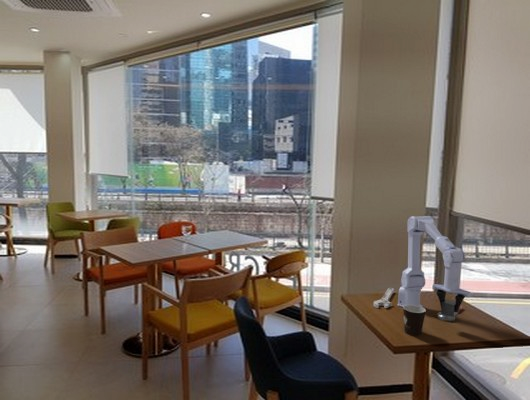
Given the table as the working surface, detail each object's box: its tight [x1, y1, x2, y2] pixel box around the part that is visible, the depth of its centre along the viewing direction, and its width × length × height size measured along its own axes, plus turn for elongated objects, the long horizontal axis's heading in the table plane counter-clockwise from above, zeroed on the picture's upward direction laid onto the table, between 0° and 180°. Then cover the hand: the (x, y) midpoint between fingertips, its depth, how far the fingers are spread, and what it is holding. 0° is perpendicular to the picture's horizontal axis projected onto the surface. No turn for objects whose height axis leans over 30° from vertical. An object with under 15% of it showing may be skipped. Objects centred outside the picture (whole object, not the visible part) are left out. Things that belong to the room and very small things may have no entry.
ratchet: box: [436, 304, 463, 323], centre depth 189 cm, size 7×22×5 cm, turn 138°
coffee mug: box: [402, 305, 427, 337], centre depth 169 cm, size 12×9×10 cm
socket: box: [440, 298, 459, 317], centre depth 172 cm, size 5×5×5 cm
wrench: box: [372, 287, 395, 309], centre depth 207 cm, size 8×2×30 cm
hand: (449, 309), depth 172 cm, fingers closed on socket, 5 cm apart
